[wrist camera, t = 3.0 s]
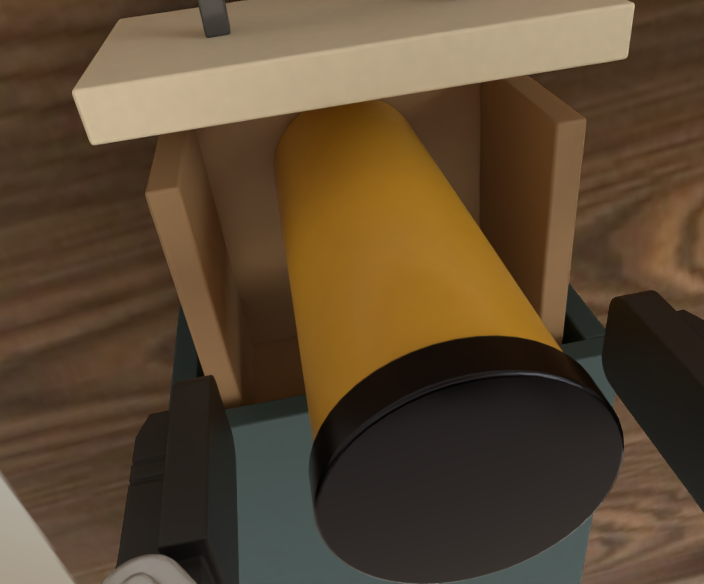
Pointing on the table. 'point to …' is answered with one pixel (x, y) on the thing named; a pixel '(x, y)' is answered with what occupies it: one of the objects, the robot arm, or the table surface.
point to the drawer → (333, 90)
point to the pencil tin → (426, 366)
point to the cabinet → (295, 494)
